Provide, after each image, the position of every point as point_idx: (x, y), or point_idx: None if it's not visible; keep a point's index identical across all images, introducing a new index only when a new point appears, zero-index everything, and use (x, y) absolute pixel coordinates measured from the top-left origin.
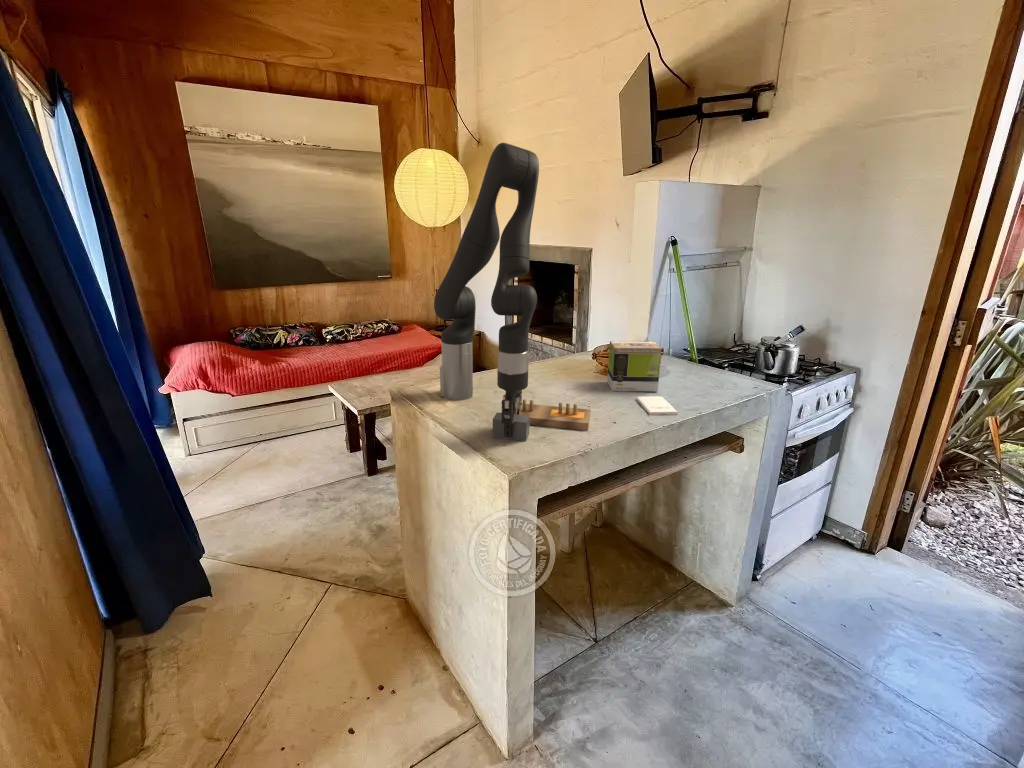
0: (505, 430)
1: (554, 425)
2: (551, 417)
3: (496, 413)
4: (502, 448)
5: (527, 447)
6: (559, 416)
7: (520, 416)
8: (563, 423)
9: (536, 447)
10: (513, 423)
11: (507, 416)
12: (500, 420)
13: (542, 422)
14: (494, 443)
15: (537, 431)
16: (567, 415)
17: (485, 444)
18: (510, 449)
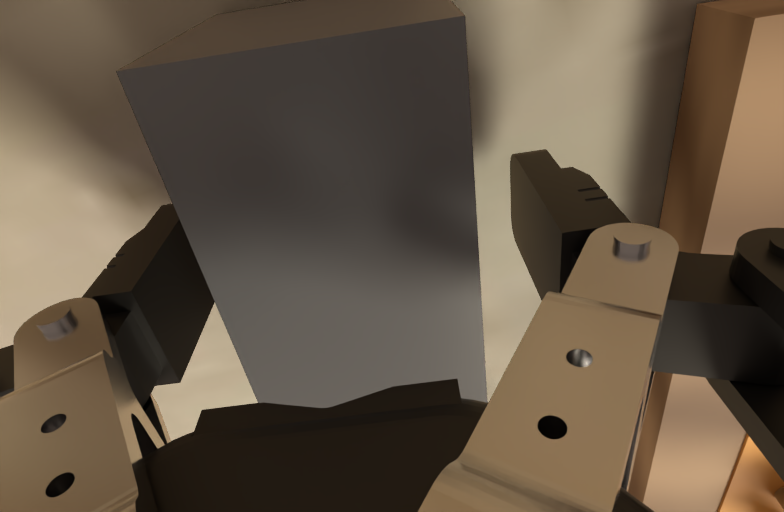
0: (108, 269)
1: None
2: (711, 427)
3: (408, 30)
4: (66, 202)
5: (213, 352)
6: (735, 463)
7: (424, 378)
8: (635, 476)
9: (248, 395)
10: (173, 378)
11: (358, 247)
12: (176, 200)
13: None
14: (104, 94)
15: (521, 336)
16: (752, 498)
17: (13, 6)
18: (98, 265)
